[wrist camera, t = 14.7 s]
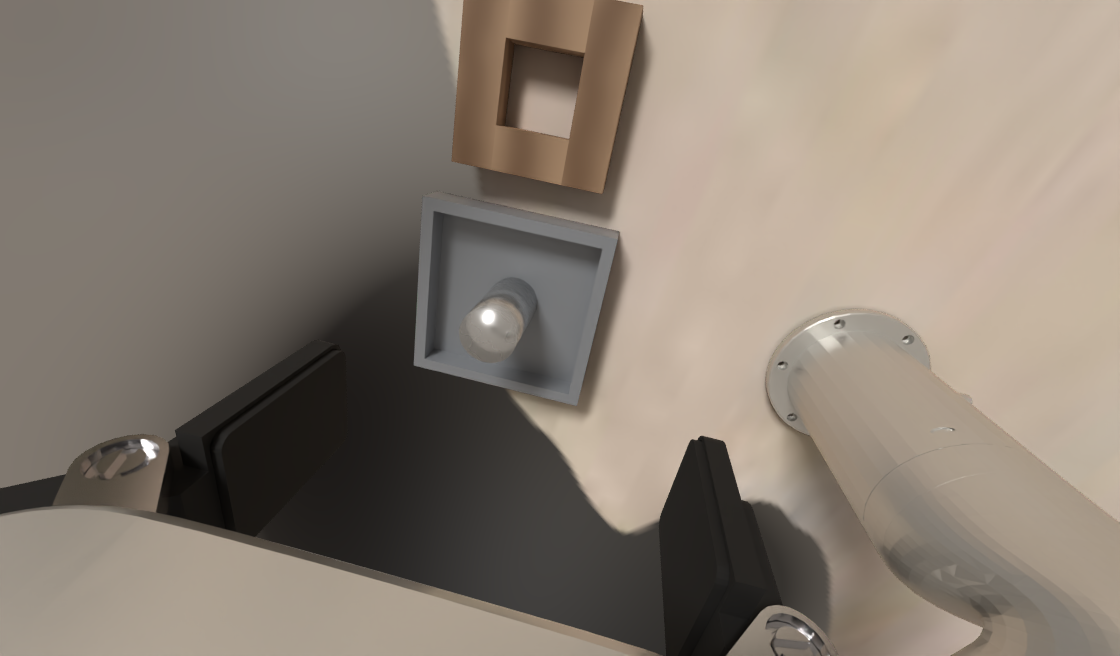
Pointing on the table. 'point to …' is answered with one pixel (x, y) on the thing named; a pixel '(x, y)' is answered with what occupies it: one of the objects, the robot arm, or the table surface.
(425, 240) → the tray
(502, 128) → the pin block
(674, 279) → the table surface
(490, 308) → the pin
